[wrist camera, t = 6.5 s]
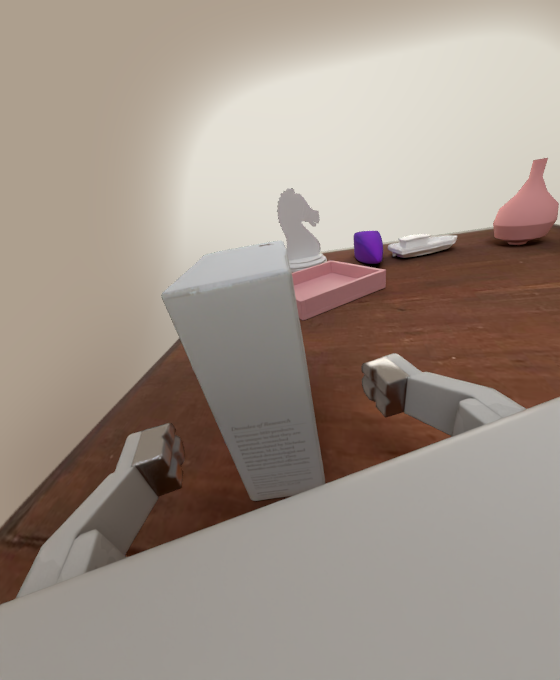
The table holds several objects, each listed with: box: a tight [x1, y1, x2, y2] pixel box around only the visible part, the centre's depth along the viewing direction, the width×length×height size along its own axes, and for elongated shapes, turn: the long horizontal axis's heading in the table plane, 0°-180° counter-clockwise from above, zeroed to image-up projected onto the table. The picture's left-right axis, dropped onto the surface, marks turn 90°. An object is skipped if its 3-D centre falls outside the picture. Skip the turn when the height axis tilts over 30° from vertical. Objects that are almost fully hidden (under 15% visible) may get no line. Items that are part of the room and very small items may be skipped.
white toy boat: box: [388, 234, 457, 258], centre depth 47 cm, size 6×12×3 cm, turn 93°
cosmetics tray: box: [292, 260, 386, 320], centre depth 38 cm, size 14×12×3 cm
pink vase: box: [493, 158, 559, 245], centre depth 40 cm, size 8×8×12 cm
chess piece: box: [277, 188, 327, 273], centre depth 51 cm, size 10×10×15 cm
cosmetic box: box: [161, 241, 325, 501], centre depth 13 cm, size 6×4×12 cm
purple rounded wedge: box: [354, 231, 383, 264], centre depth 49 cm, size 5×5×15 cm
